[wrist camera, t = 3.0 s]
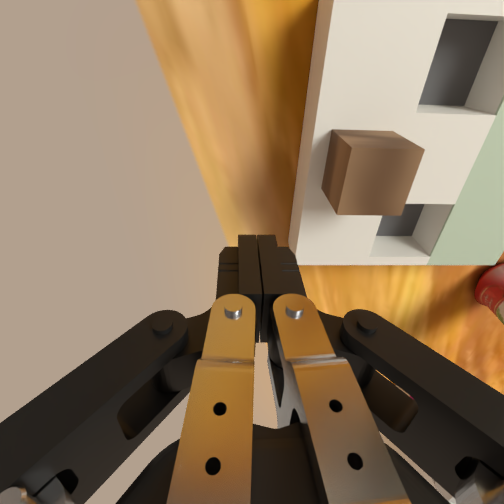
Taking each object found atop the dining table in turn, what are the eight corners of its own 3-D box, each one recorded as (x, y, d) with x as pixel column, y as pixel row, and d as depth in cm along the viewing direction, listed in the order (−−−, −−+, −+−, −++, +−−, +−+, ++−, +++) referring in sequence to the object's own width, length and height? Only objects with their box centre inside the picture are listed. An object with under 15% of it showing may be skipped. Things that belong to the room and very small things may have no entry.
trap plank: (288, 241, 32) (294, 265, 28) (319, -7, 20) (336, -16, 17) (468, 242, 33) (494, 265, 30) (595, 8, 22) (660, 3, 18)
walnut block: (321, 188, 24) (336, 215, 20) (331, 129, 22) (352, 147, 18) (375, 189, 24) (401, 215, 21) (392, 130, 22) (425, 149, 18)
